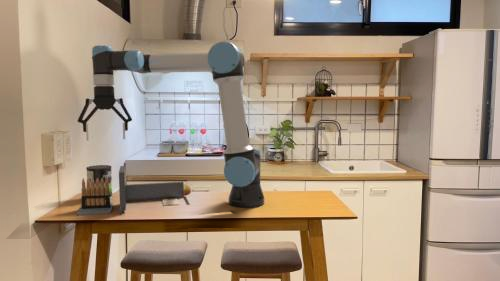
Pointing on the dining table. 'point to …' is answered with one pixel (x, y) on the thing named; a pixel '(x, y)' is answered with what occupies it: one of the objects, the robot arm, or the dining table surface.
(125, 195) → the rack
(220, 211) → the dining table surface
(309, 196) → the dining table surface
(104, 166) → the coffee can
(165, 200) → the offcut upper
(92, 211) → the mat
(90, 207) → the ammunition clip
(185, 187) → the fruit
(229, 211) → the dining table surface
